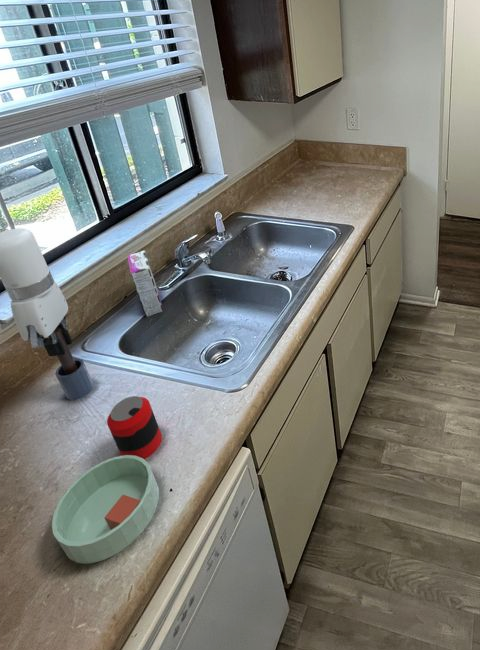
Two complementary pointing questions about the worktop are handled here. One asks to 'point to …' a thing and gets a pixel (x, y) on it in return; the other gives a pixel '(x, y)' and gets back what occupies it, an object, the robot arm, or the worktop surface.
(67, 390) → the utensil holder
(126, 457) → the bowl
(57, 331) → the stirring stick
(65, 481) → the worktop surface
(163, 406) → the worktop surface
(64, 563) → the worktop surface
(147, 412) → the soda can
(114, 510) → the block
